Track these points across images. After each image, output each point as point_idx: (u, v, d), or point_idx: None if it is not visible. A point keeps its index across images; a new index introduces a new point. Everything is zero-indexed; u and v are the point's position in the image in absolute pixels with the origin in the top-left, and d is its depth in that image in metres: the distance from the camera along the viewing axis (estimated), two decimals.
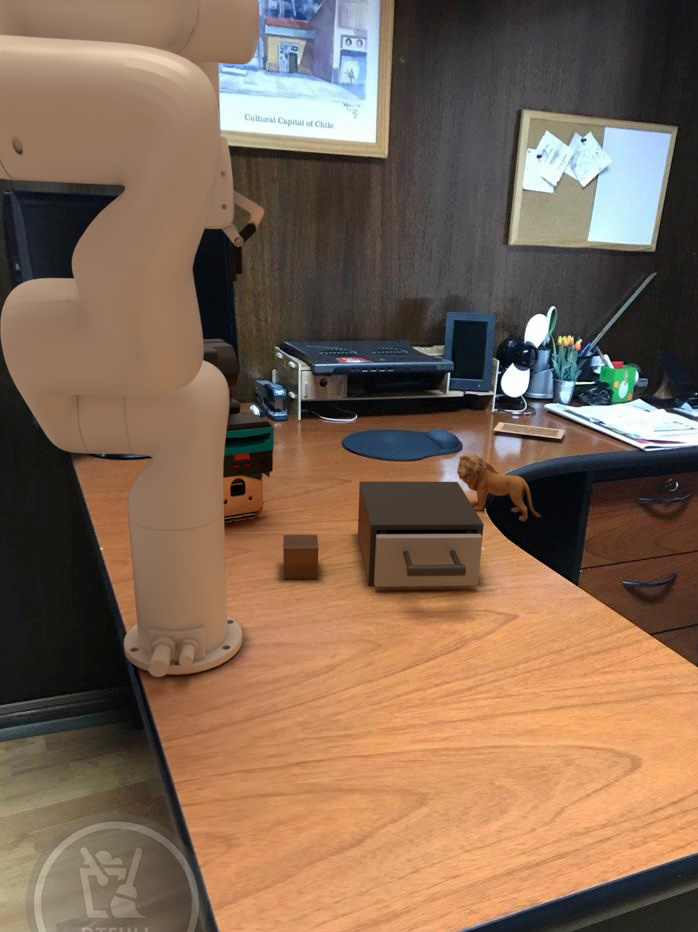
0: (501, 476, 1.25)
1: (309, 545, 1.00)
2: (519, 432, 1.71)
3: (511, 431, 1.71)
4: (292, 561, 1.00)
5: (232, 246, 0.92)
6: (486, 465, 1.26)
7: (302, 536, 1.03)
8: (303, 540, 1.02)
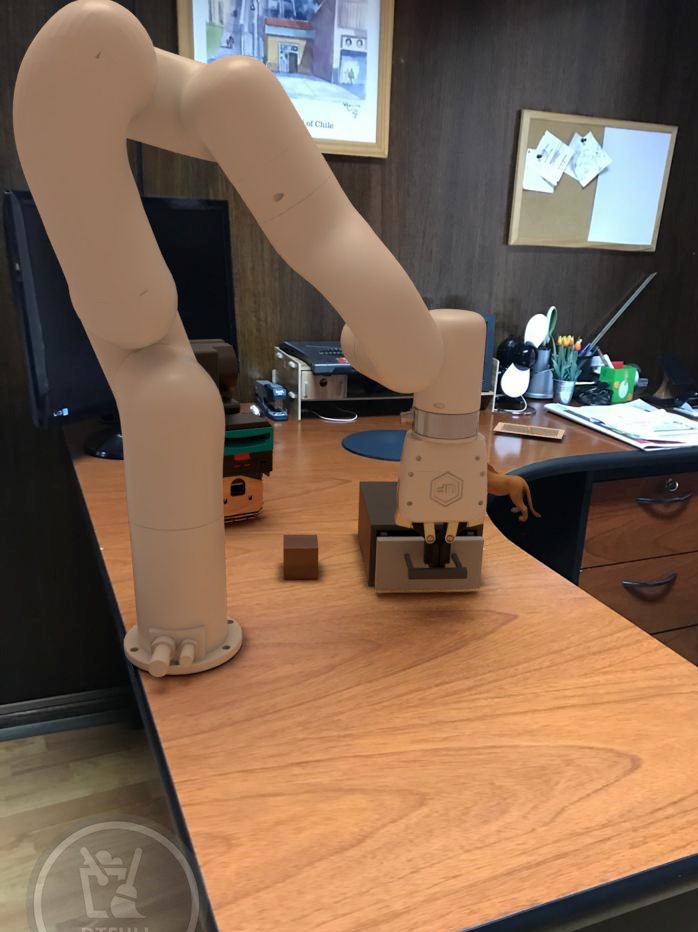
0: (501, 476, 1.25)
1: (309, 545, 1.00)
2: (519, 432, 1.71)
3: (511, 431, 1.71)
4: (292, 561, 1.00)
5: (443, 542, 0.92)
6: None
7: (302, 536, 1.03)
8: (303, 540, 1.02)
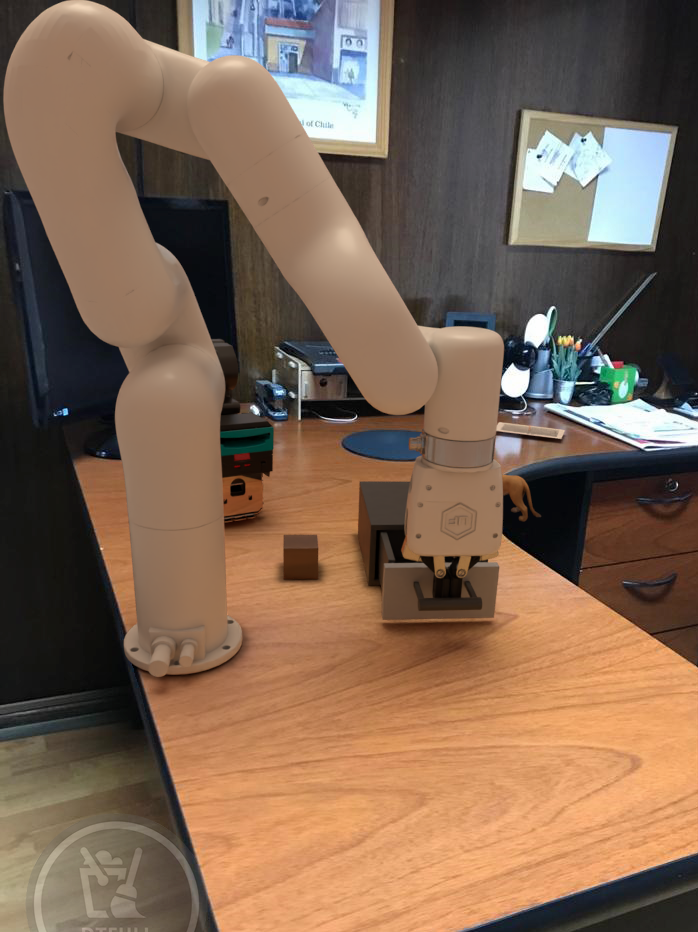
0: None
1: (309, 545, 1.00)
2: (519, 432, 1.71)
3: (511, 431, 1.71)
4: (292, 561, 1.00)
5: (454, 577, 0.85)
6: None
7: (302, 536, 1.03)
8: (303, 540, 1.02)
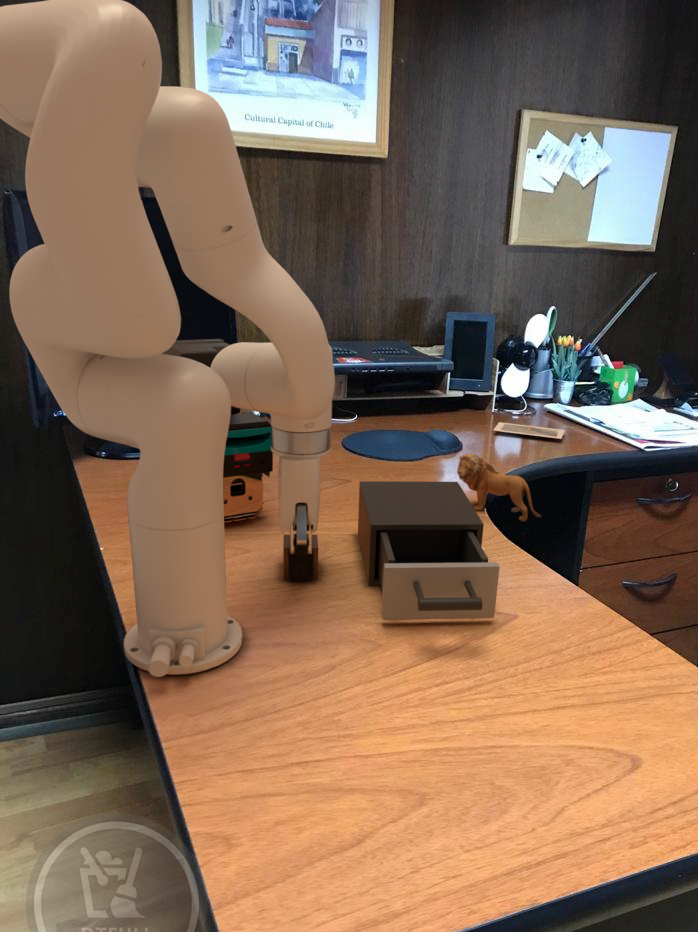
0: (501, 476, 1.25)
1: None
2: (519, 432, 1.71)
3: (511, 431, 1.71)
4: None
5: None
6: (486, 465, 1.26)
7: None
8: None
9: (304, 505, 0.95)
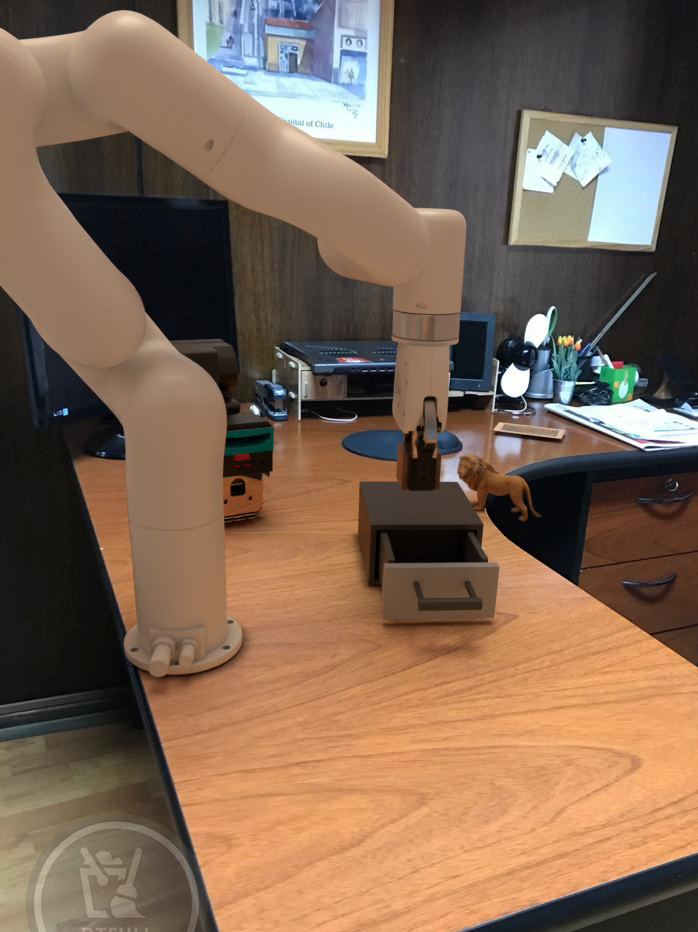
0: (501, 476, 1.25)
1: None
2: (519, 432, 1.71)
3: (511, 431, 1.71)
4: None
5: (412, 457, 0.89)
6: (486, 465, 1.26)
7: None
8: None
9: (432, 400, 0.84)
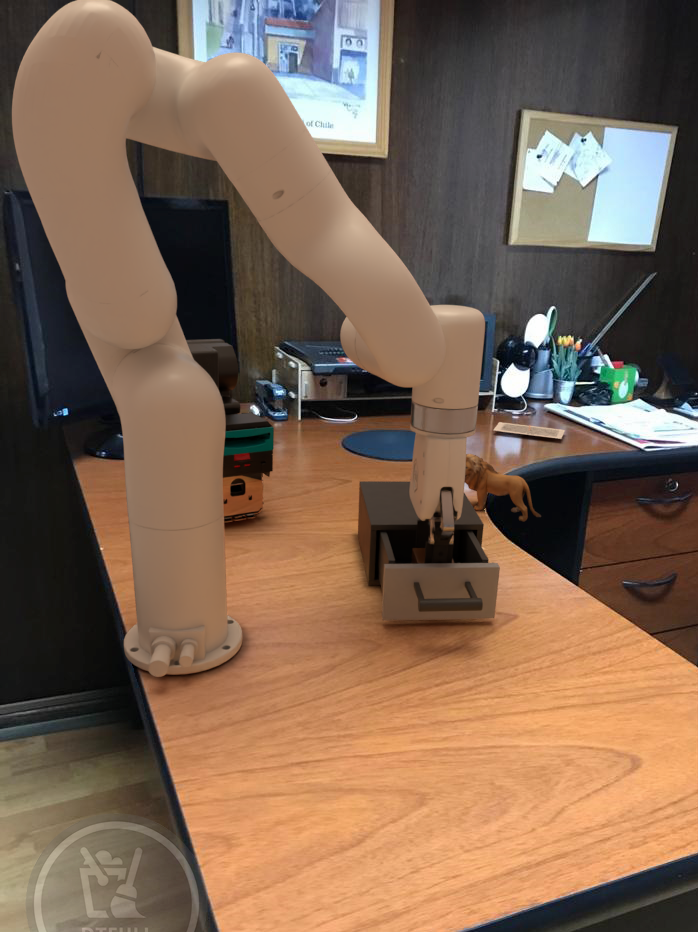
0: (501, 476, 1.25)
1: None
2: (519, 432, 1.71)
3: (511, 431, 1.71)
4: None
5: (429, 542, 0.90)
6: (486, 465, 1.26)
7: None
8: None
9: (449, 489, 0.87)
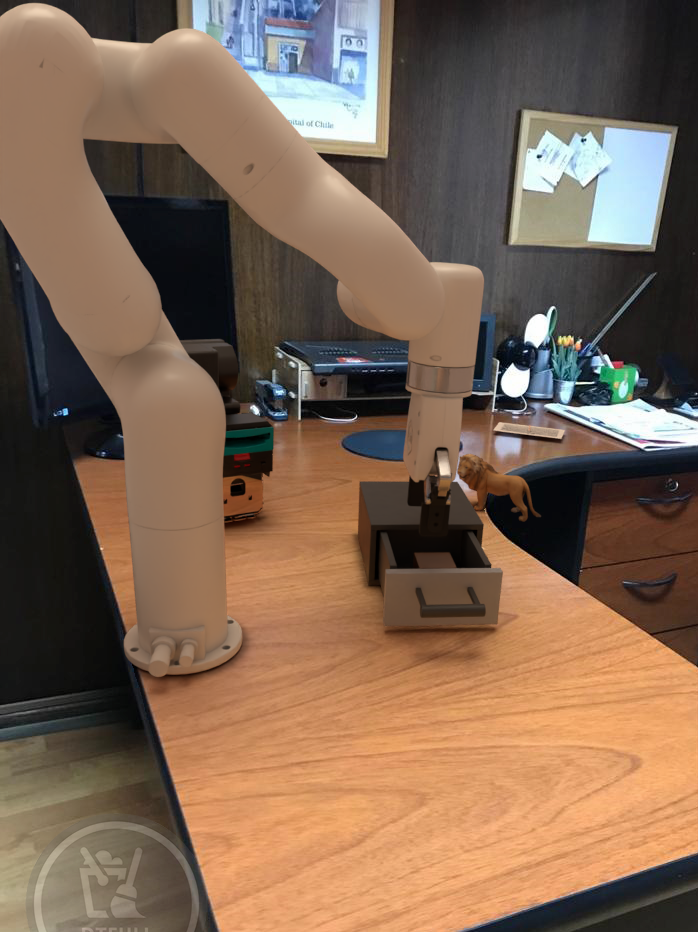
0: (501, 476, 1.25)
1: (446, 565, 0.92)
2: (519, 432, 1.71)
3: (511, 431, 1.71)
4: None
5: (425, 502, 0.87)
6: (486, 465, 1.26)
7: (434, 554, 0.95)
8: (438, 559, 0.93)
9: (444, 446, 0.85)
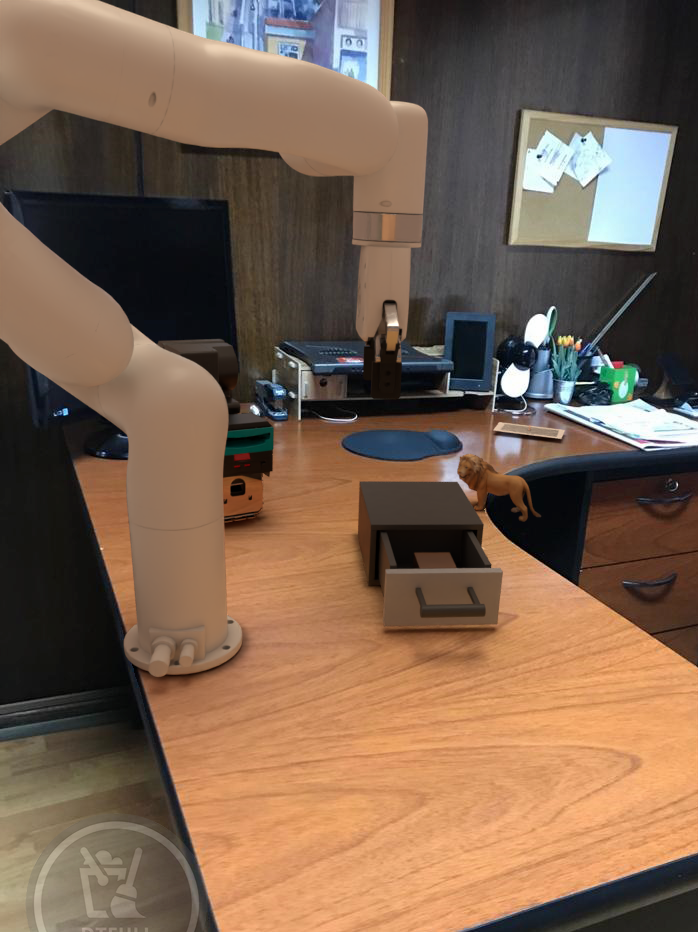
0: (501, 476, 1.25)
1: (446, 565, 0.92)
2: (519, 432, 1.71)
3: (511, 431, 1.71)
4: None
5: None
6: (486, 465, 1.26)
7: (434, 554, 0.95)
8: (438, 559, 0.93)
9: (392, 300, 0.81)
